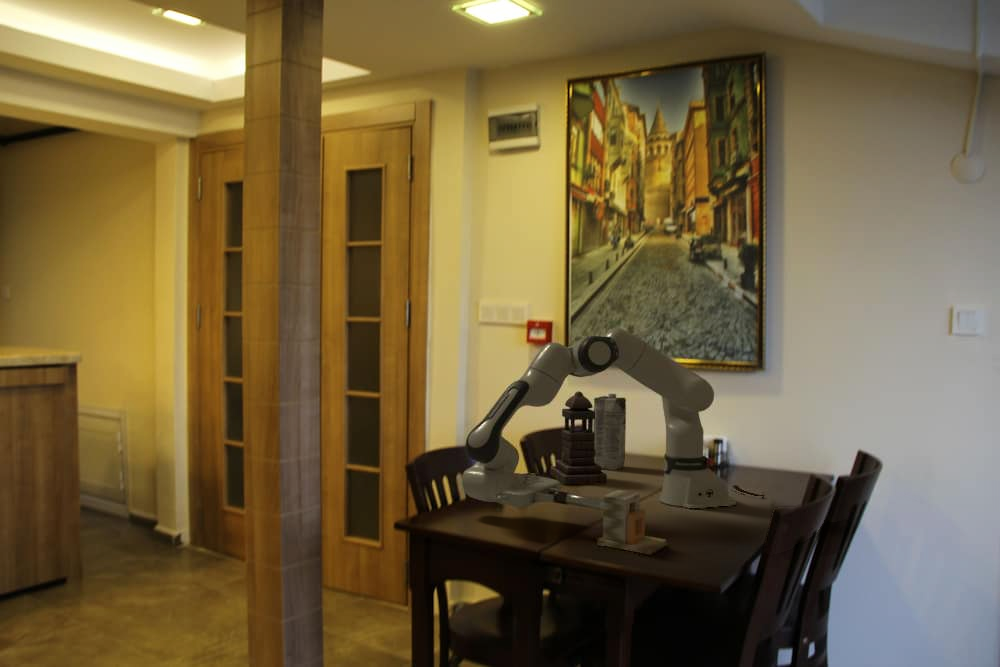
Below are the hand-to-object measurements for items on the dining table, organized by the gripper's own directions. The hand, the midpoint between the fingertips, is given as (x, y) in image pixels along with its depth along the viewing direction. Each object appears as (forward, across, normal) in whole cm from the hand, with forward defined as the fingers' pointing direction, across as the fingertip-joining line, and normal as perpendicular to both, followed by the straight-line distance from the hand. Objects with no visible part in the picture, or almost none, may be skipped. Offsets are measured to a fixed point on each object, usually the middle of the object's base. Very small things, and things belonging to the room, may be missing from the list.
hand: (558, 497), depth 214 cm
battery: (-26, +82, +9) cm, 86 cm away
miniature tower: (-26, +58, +9) cm, 64 cm away
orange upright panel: (+22, 0, +8) cm, 23 cm away
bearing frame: (+21, 0, +9) cm, 23 cm away
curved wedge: (+27, +74, +10) cm, 80 cm away
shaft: (+7, 0, +2) cm, 7 cm away
